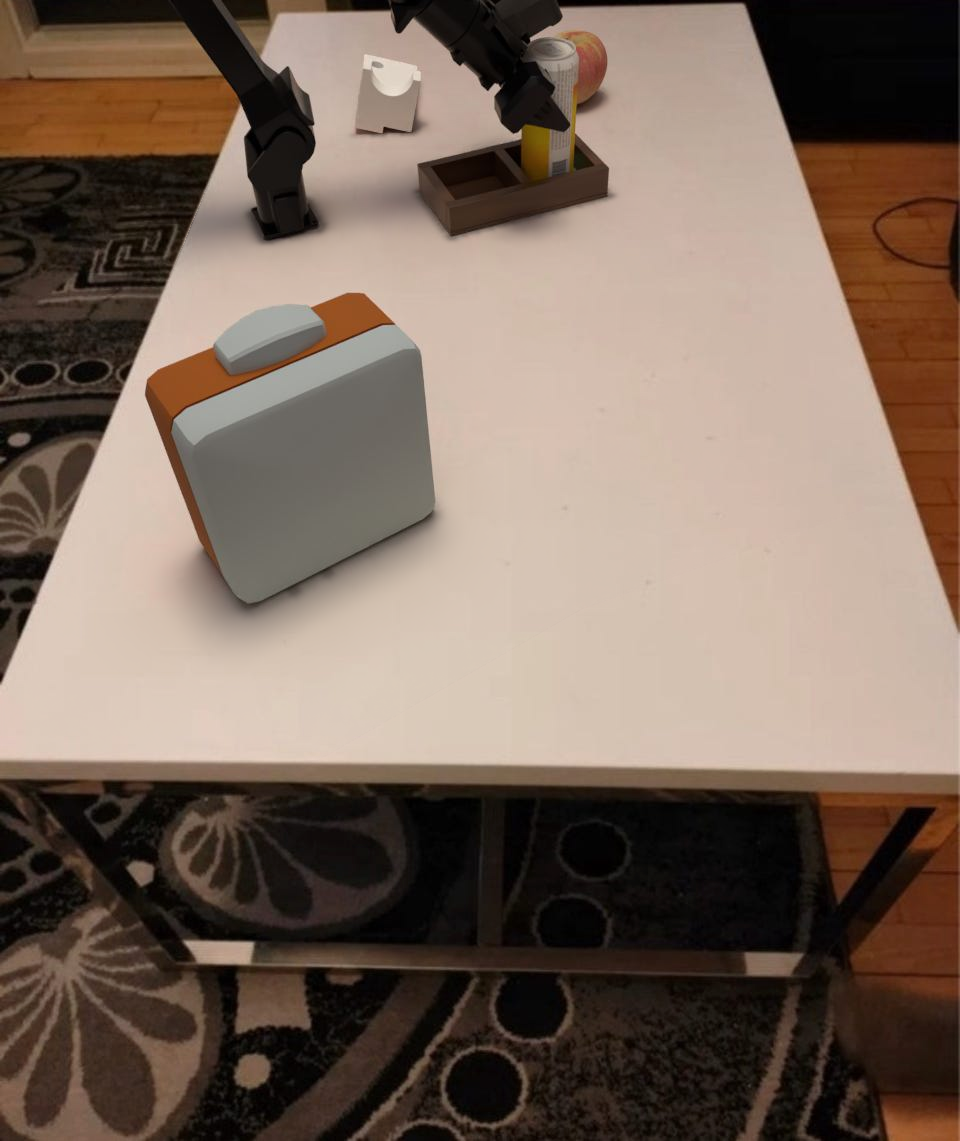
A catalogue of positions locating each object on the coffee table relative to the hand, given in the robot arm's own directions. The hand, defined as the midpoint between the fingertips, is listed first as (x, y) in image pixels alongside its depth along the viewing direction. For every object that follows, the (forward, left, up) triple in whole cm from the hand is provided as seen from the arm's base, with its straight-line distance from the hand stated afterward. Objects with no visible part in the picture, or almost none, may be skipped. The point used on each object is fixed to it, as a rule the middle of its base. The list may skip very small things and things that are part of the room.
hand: (560, 114), depth 113 cm
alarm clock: (+42, -42, -8) cm, 60 cm away
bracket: (-26, -12, -8) cm, 30 cm away
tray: (0, -6, -8) cm, 10 cm away
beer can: (0, -1, -8) cm, 8 cm away
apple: (-18, +10, -8) cm, 23 cm away
